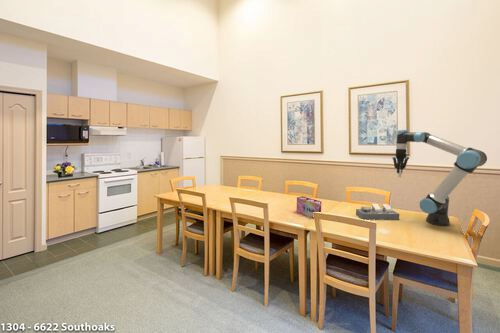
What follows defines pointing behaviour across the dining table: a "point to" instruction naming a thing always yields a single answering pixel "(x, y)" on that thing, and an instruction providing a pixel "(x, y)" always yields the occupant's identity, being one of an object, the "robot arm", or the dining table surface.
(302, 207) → the gum box
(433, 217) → the robot arm
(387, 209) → the switch
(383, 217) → the console
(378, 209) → the switch
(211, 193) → the dining table surface
